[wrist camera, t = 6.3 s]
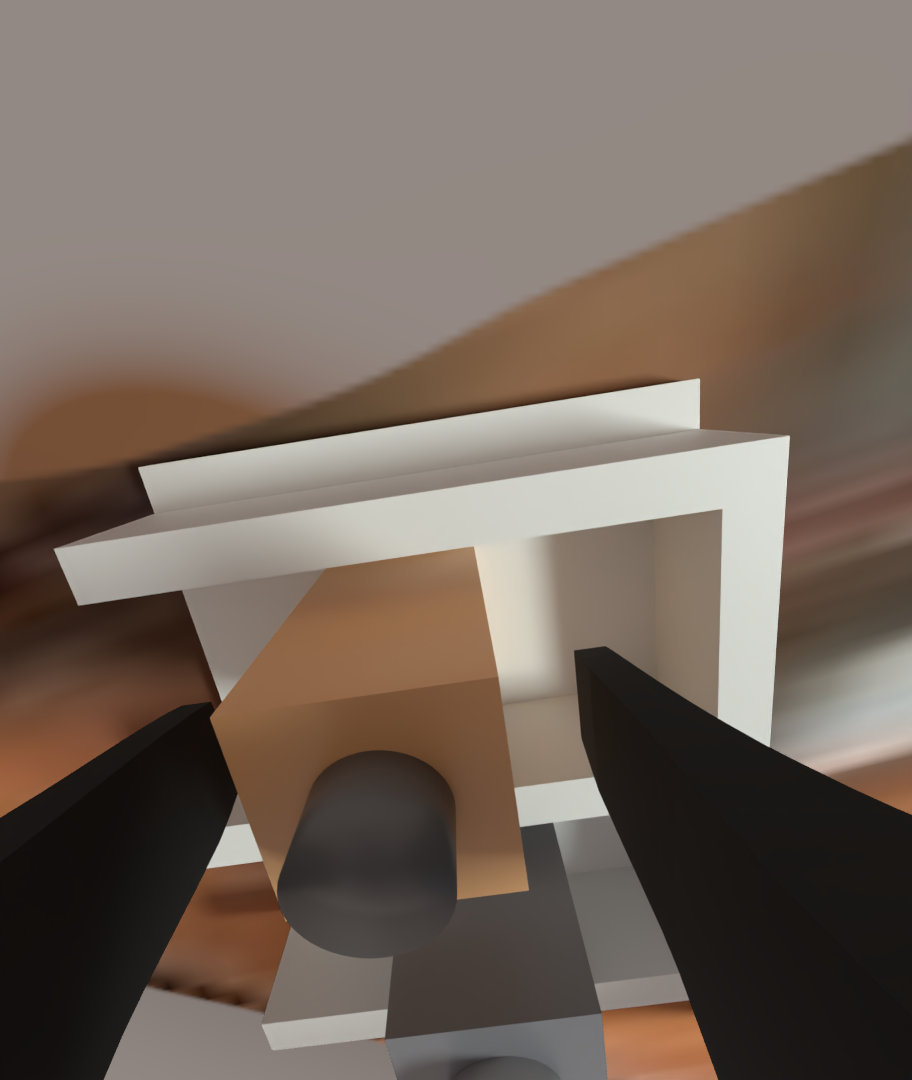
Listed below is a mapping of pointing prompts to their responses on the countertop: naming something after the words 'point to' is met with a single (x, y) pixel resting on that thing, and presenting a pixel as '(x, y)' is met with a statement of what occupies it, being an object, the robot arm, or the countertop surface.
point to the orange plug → (378, 755)
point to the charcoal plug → (501, 987)
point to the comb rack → (492, 612)
